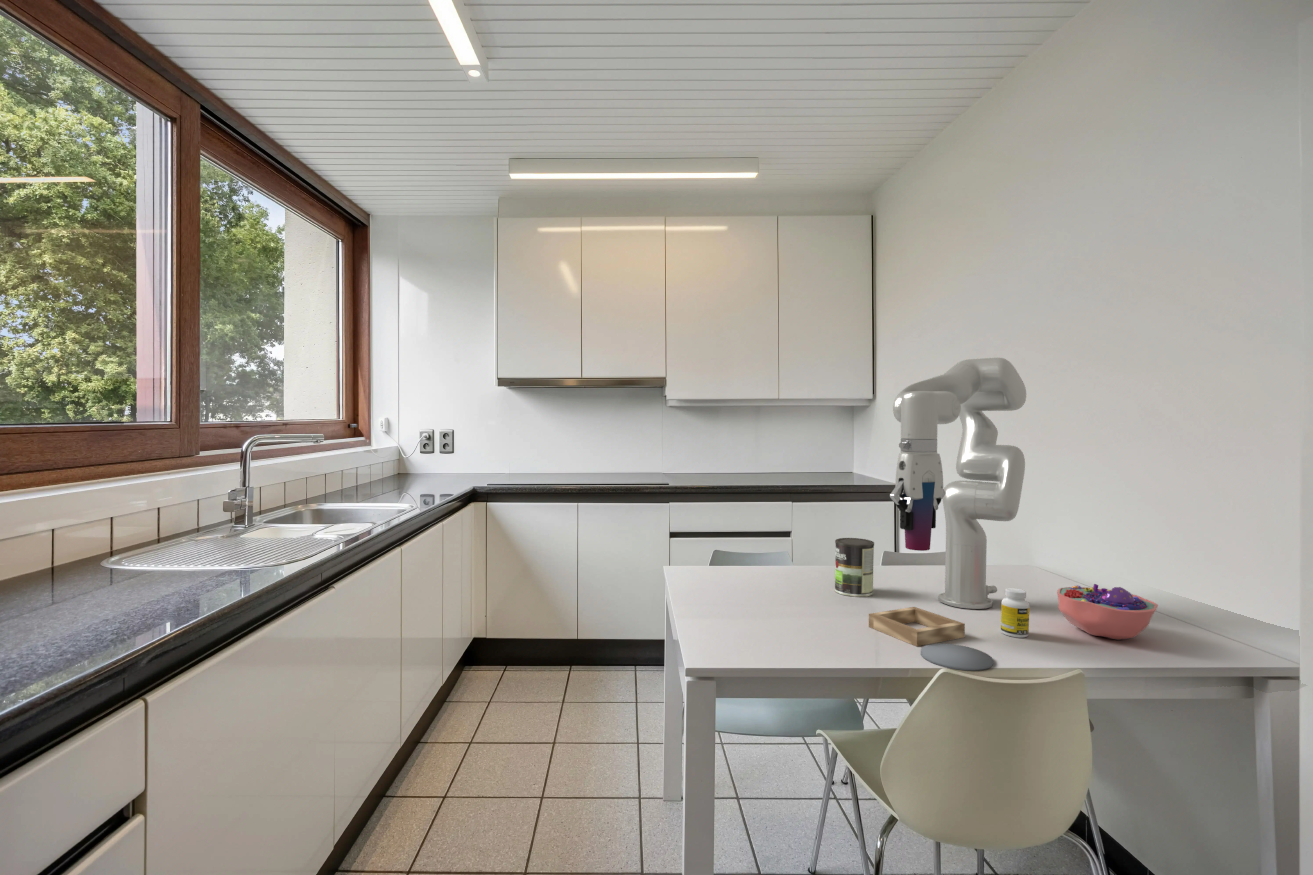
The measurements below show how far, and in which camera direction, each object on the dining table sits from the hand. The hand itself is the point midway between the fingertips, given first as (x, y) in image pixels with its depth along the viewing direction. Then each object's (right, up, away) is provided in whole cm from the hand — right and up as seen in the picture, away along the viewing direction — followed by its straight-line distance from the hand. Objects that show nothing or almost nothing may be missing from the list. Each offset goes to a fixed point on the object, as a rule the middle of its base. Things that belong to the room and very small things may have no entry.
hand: (917, 527), depth 142 cm
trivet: (+2, -24, -15) cm, 28 cm away
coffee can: (-3, -23, +34) cm, 41 cm away
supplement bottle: (+21, -24, 0) cm, 32 cm away
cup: (0, -5, 0) cm, 5 cm away
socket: (0, -23, +1) cm, 23 cm away
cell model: (+41, -24, 0) cm, 47 cm away
